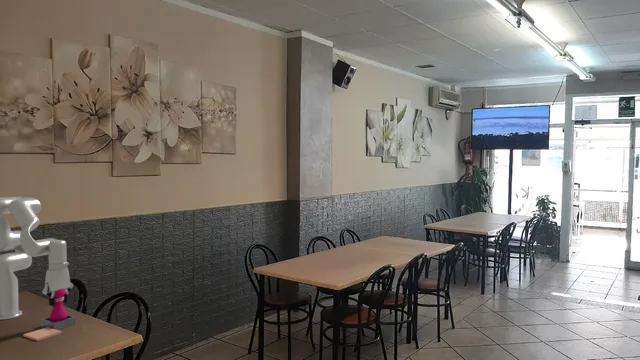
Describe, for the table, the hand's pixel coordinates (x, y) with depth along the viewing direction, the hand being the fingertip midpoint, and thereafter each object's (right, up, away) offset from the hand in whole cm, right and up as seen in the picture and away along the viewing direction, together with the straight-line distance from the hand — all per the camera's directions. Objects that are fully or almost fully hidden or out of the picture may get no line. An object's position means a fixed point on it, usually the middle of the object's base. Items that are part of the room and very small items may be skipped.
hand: (58, 303), depth 229 cm
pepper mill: (0, -11, 0) cm, 11 cm away
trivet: (0, -11, -12) cm, 17 cm away
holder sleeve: (0, -10, 0) cm, 10 cm away
